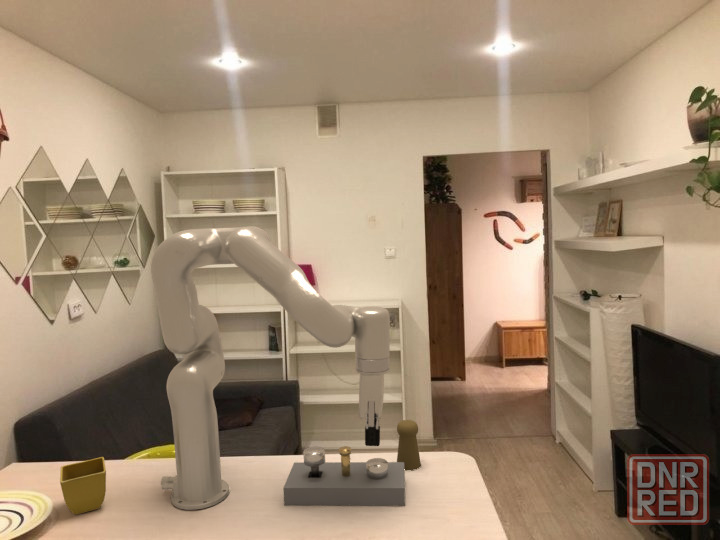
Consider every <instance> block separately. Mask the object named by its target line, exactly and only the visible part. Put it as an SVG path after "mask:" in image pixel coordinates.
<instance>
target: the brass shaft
mask: <svg viewBox="0 0 720 540" xmlns="http://www.w3.org/2000/svg"><path fill="white" fill-rule="evenodd" d="M338 450H339V451H338V452H339V455H340V462H341V470H342V476H344V477H348V476H350V475H351V471H350V462H351V454H352V448H351V446H345V445H344V446H341V447H340V448H339V449H338Z"/></svg>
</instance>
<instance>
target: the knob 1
mask: <svg viewBox="0 0 720 540" xmlns="http://www.w3.org/2000/svg"><path fill="white" fill-rule="evenodd" d="M303 462H304V464H305V465H306V466H310V467H311V478H319V466H320V465H323V464H324V463H325V462H326V450H325V448H324V447H321V446H310V447H307V448H304V450H303Z"/></svg>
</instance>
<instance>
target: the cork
mask: <svg viewBox="0 0 720 540" xmlns="http://www.w3.org/2000/svg"><path fill="white" fill-rule="evenodd" d="M396 431H397V432H396V433H397V434H398V435H399V437H398V446H397V456H396V462H404V469H405V471H407V470H411V471H414V470H413V469H416V470H418V469H420V468H421V467H422V463H421V459H420V458H421V457H420V456H421V455H420V452H419V445H418V444H419V443H418V439H417V435H418V433H419V427H418V423H417V422H416V421H414V420H411V419H404V420H401V421H399V422H398V424H397V426H396ZM419 467H420V468H419ZM417 468H418V469H417Z"/></svg>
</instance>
